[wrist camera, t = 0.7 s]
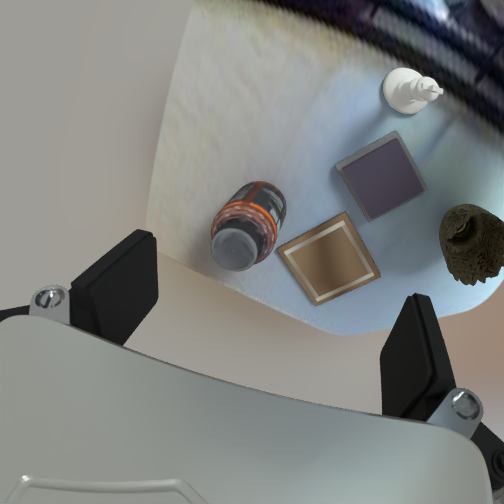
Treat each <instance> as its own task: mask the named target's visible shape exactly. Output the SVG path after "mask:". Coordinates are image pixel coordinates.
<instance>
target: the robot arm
mask: <svg viewBox="0 0 504 504" xmlns="http://www.w3.org/2000/svg"><path fill="white" fill-rule="evenodd" d="M71 286H72V288H71V289H70V290H69V291H68V290H67V289H66V288H64V287H63V286H59V285H50V286H45V287H43V288H41V289H40V290H38V291H36V293H34V295H33V296H32V299H31V303H30V305H27V306H22V307H17V308H11V309H6V310H0V504H504V442H503V441H501V439H499V438H498V437H497V436H496V435H495V434H494V433H493V432H492V431H491V430H489V429H488V428H487V427H486V426H485V425H484V424H483V423H482V422H481V419H482V417H483V406H482V402H481V401H480V399H479V398H478V397H477V396H476V395H475V394H474V393H473V392H472V391H470V390H468V389H465V388H457V387H456V383H455V379H454V375H453V371H452V368H451V364H450V360H449V357H448V353H447V349H446V346H445V342H444V339H443V337H442V333H441V330H440V327H439V323H438V320H437V317H436V314H435V311H434V308H433V305H432V302H431V299H430V297H429V296H426V295H421V294H417V293H414V294H413V295H412V296H408V297H407V299H406V301H405V303H404V305H403V307H402V310H401V312H400V314H399V316H398V318H397V320H396V322H395V325H394V327H393V329H392V331H391V333H390V335H389V337H388V339H387V341H386V343H385V345H384V347H383V349H382V351H381V354H380V371H381V391H382V415H379V414H372V413H366V412H360V411H355V410H349V409H343V408H338V407H332V406H327V405H322V404H316V403H312V402H307V401H303V400H298V399H294V398H289V397H285V396H281V395H277V394H272V393H268V392H264V391H261V390H257V389H253V388H249V387H245V386H241V385H238V384H234V383H231V382H227V381H224V380H221V379H217V378H214V377H210V376H207V375H204V374H201V373H198V372H194V371H191V370H188V369H185V368H182V367H179V366H176V365H173V364H170V363H167V362H164V361H162V360H159V359H156V358H153V357H150V356H147V355H145V354H142V353H140V352H137V351H134V350H132V349H129V348H126V347H124V346H123V345H124V343H125V342H126V341H127V339H128V338H129V337H130V335H131V334H132V333H133V332H134V331H135V329H136V328H137V327H138V325H139V324H140V323H141V321H142V320H143V319H144V318H145V317H146V315H147V314H148V313H149V311H150V310H151V309H152V308H153V306H154V305H155V304H156V302H157V300H158V275H157V242H156V238H155V237H153V234H152V233H151V232H148V231H144V230H140V229H137V230H135V231H134V232H133V233H131V234H130V235H129V236H127V237H126V238H125V239H124V240H122V241H121V242H120V243H119V244H117V245H116V246H115V247H114V248H112V249H111V250H110V251H109V252H107V253H106V254H105V255H104V256H102V257H101V258H100V259H99V260H98V261H96V262H95V263H94V264H93V265H91V266H90V267H89V268H88V269H87V270H86V271H84V272H83V273H82V274H81V275H80V276H78V277H77V278H76V279H75V280H74V281H73V282H71Z"/></svg>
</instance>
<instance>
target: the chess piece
mask: <svg viewBox="0 0 504 504" xmlns="http://www.w3.org/2000/svg"><path fill="white" fill-rule="evenodd" d="M383 93H384V96H385V99H386V101H387V102H388V104H389V105H390V106H391V107H392V108H393V109H395V110H396V111H398V112H400V113H403V114H414V113H417V112H419V111H421V110H422V109H423V108H424V107H425V106H426V104H427V102H428V101H433V100H435V99H436V98H437V97H438V95H439V94H443V89H442V88H439V87H438V84H437V83H436V81H435V80H433V79H432V78H430V77H422V76H421V75H420V74H419V73H418V72H416V71H414V70H412V69H408V68H397V69H395V70H393V71H391V72H390V73H389V74H388V75H387V76H386V78H385V80H384V83H383Z"/></svg>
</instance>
